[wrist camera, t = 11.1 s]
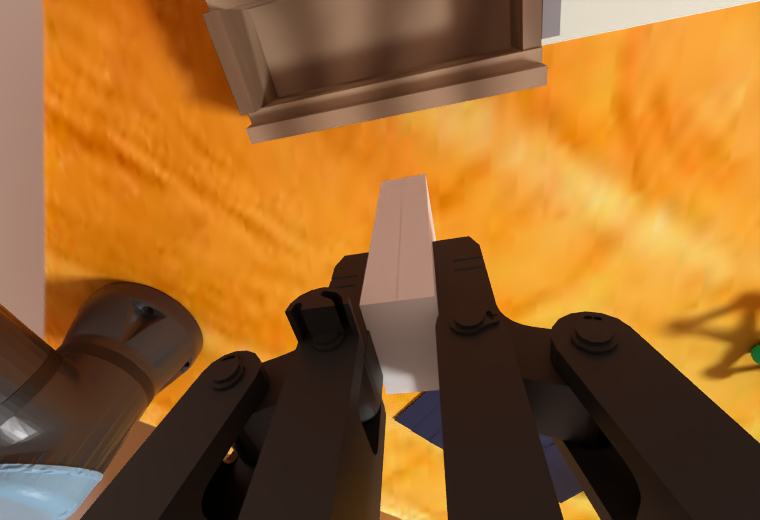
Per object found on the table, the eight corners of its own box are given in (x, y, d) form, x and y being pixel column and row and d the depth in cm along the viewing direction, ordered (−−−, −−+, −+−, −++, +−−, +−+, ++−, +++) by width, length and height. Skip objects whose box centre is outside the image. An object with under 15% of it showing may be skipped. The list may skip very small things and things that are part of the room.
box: (277, 123, 36) (251, 143, 30) (228, -21, 30) (186, -26, 25) (524, 71, 32) (546, 84, 26) (523, -105, 26) (550, -134, 21)
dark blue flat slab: (549, 490, 64) (553, 513, 61) (395, 406, 61) (392, 425, 58) (678, 417, 52) (691, 441, 49) (494, 306, 49) (496, 324, 45)
